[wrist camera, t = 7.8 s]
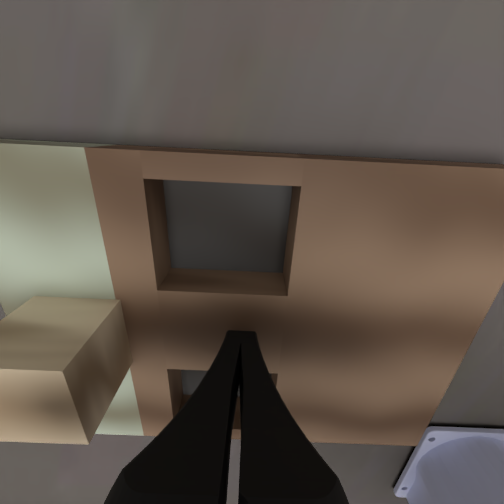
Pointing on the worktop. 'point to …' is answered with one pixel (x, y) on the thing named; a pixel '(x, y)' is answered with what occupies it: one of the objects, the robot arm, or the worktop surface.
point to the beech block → (60, 368)
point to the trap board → (264, 272)
